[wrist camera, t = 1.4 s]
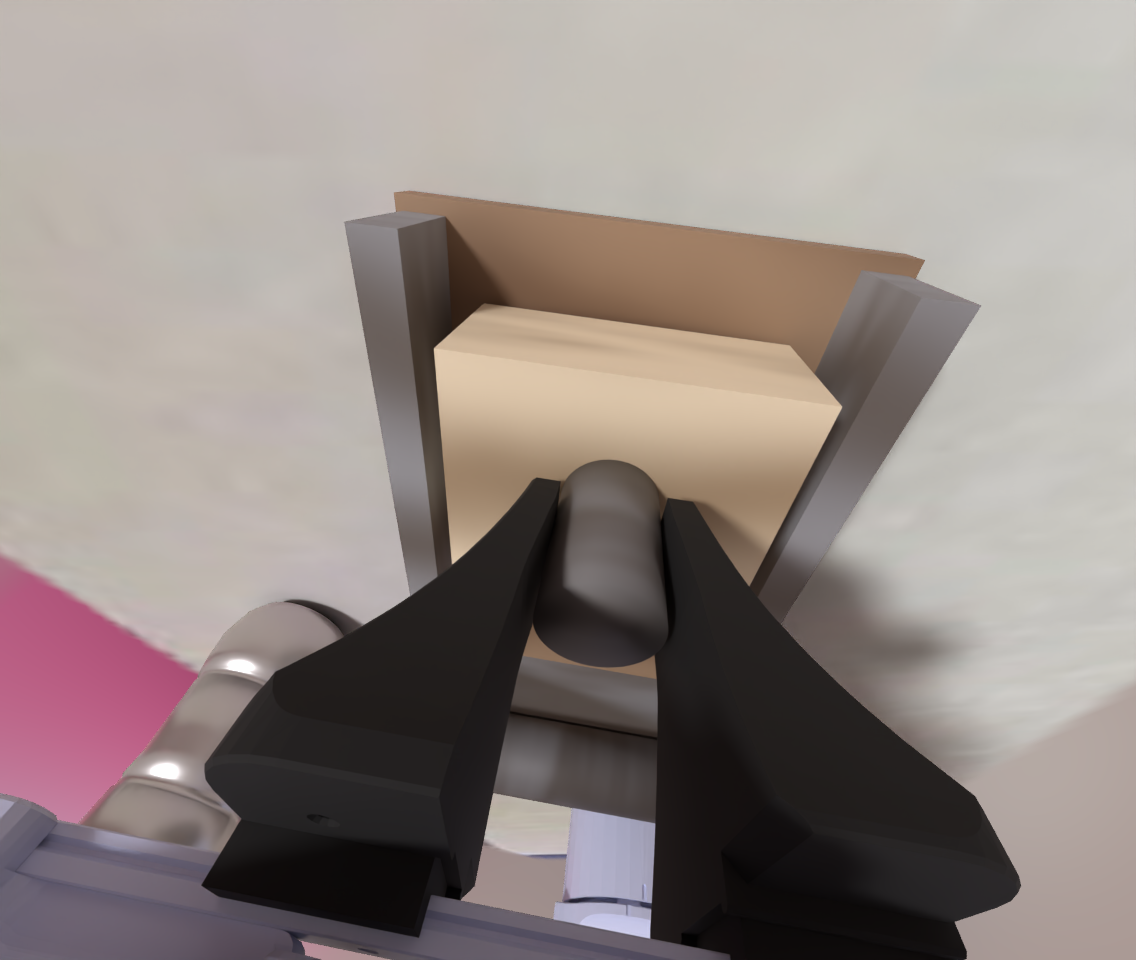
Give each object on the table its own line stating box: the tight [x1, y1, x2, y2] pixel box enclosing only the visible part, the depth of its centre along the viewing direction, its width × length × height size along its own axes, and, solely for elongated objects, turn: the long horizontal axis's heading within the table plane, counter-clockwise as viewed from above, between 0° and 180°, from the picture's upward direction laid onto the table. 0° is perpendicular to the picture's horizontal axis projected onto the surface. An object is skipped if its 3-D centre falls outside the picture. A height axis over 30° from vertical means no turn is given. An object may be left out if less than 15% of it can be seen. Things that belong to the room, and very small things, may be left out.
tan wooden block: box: [434, 303, 842, 668], centre depth 12 cm, size 7×9×8 cm
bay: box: [344, 191, 981, 823], centre depth 16 cm, size 23×14×7 cm, turn 174°
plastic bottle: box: [78, 602, 344, 853], centre depth 19 cm, size 6×7×20 cm
